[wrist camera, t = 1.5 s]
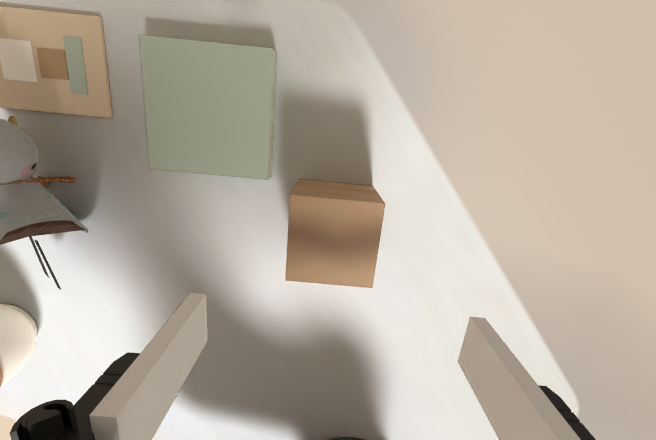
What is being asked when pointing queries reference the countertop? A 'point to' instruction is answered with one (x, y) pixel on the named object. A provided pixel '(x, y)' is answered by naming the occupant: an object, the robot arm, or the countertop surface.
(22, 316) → the lidded jar
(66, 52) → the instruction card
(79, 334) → the countertop surface
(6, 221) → the decorative toy
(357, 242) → the walnut cube
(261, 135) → the base plate
